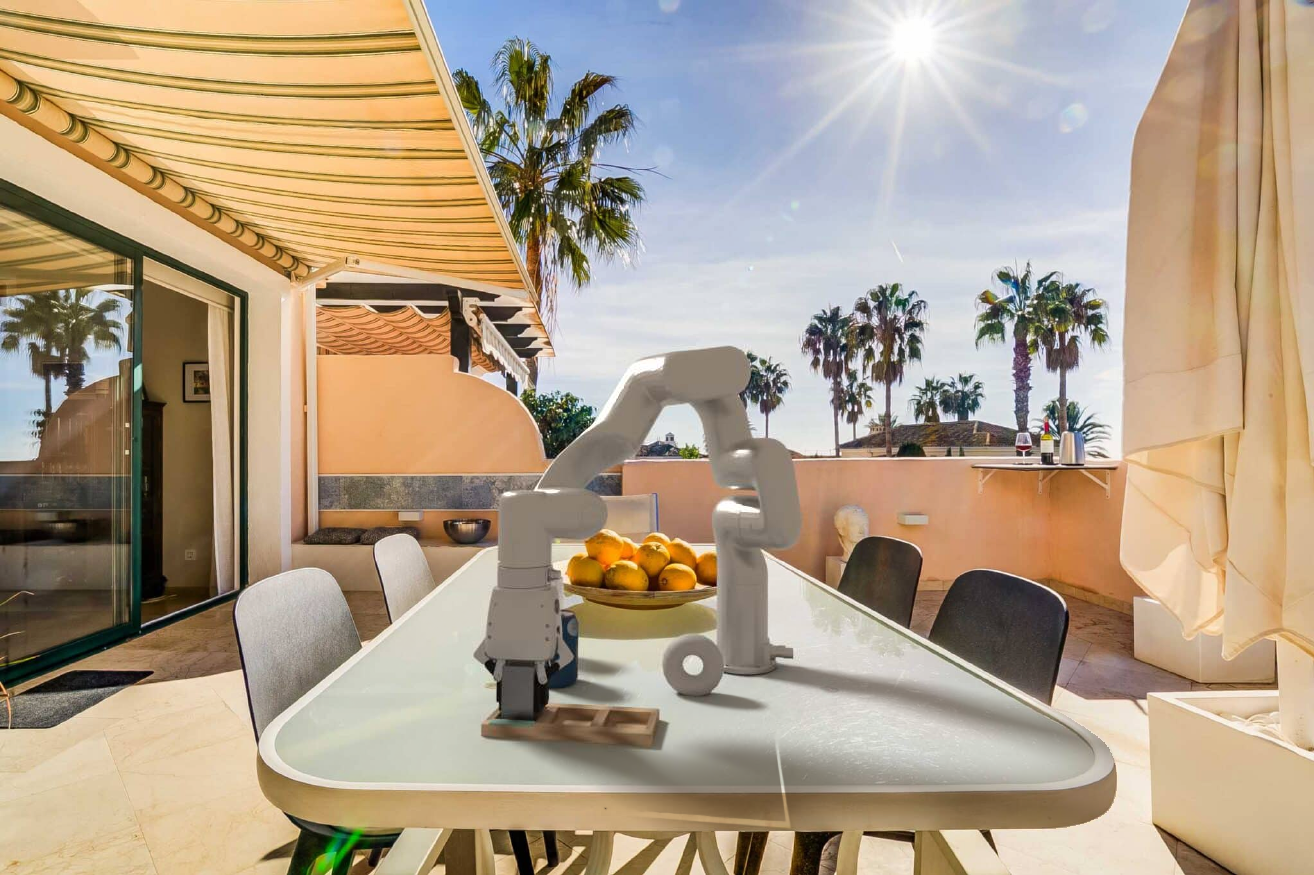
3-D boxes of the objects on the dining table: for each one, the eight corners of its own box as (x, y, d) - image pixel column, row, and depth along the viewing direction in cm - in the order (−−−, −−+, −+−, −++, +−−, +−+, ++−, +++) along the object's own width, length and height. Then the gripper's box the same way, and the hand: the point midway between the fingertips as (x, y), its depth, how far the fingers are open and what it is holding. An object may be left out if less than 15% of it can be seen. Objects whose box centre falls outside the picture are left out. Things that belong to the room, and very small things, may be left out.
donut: (660, 698, 102) (661, 634, 102) (663, 691, 105) (663, 629, 105) (723, 702, 100) (723, 637, 101) (724, 694, 104) (724, 632, 104)
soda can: (586, 685, 108) (587, 612, 108) (553, 695, 102) (554, 619, 103) (560, 675, 112) (561, 606, 113) (527, 685, 107) (528, 612, 108)
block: (542, 714, 92) (543, 657, 92) (532, 726, 87) (533, 667, 88) (512, 712, 92) (513, 656, 93) (501, 725, 88) (502, 665, 88)
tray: (659, 722, 92) (659, 707, 92) (650, 750, 83) (651, 732, 83) (505, 713, 95) (505, 698, 95) (480, 739, 86) (481, 722, 86)
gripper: (588, 574, 93) (587, 702, 92) (478, 571, 95) (475, 696, 95) (576, 584, 86) (574, 722, 85) (456, 580, 88) (453, 715, 87)
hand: (522, 707), depth 90 cm, fingers closed on block, 4 cm apart
